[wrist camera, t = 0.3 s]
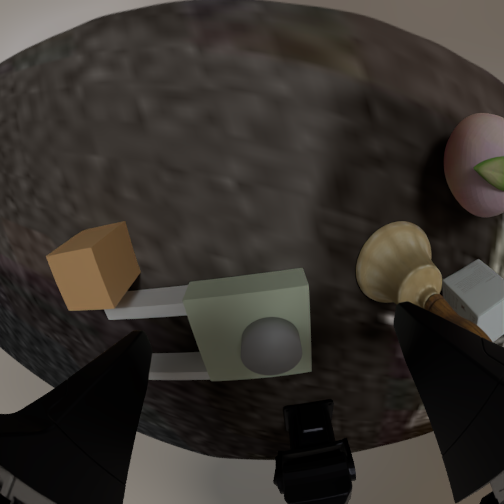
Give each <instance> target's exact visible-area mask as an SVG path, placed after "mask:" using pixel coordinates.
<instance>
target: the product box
mask: <svg viewBox="0 0 504 504" xmlns="http://www.w3.org/2000/svg"><path fill="white" fill-rule="evenodd" d="M442 288H443V298H444V299H445V300H446V301H447V302H448V304H449V305H450V306H451V307H452V309H453V310H454V311H455V312H456V313H457V314H458V315H460V316H461V317H463V318H465V319H467V320H470V321H471V322H473V323H475V324H476V325H477V326H479V327H480V328H481V329H482V330H483V331H484V332H485V333H486V334H487V335H488V336H489V338H490V339H491V340H492V342H494V341H495V340H496V339H498V338H499V337H500V336H502V335H503V334H504V279H503V278H502V277H501V276H499V275H498V274H497V273H496V272H494V271H493V270H492V269H491V268H490V267H488V266H487V265H486V264H484V263H483V262H482V261H481V260H479V259H477V260H476V261H474V262H472V263H470V264H469V265H467V266H466V267H464V268H462V269H461V270H459V271H457V272H456V273H454V274H452V275H450V276H448V277H447V278H445V279H443V280H442Z"/></svg>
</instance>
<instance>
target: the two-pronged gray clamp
mask: <svg viewBox="0 0 504 504" xmlns="http://www.w3.org/2000/svg"><path fill="white" fill-rule="evenodd" d="M104 311H105V313H106V315H107V317H108V319H109V320H115V319H137V318H155V317H170V316H184V315H187V316H188V319H189V322H190V325H191V328H192V331H193V334H194V337H195V340H196V343H197V345H198V348H199V351H200V352H187V353H152V359H151V365H150V372H149V379H148V380H209V379H210V380H211V381H228V380H243V379H255V378H266V377H275V376H283V375H291V374H299V373H305V372H312V369H311V327H310V303H309V285H308V282H307V279H306V276H305V273H304V270H303V268H297V269H290V270H282V271H275V272H267V273H259V274H252V275H244V276H236V277H227V278H219V279H211V280H202V281H194V282H189V285H184V286H175V287H166V288H156V289H146V290H136V291H127V292H126V293H125V295H124V296H123V297H122V299H121V300H120V302H119V303H118V304H117V306H116V307H115V309H104Z"/></svg>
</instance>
